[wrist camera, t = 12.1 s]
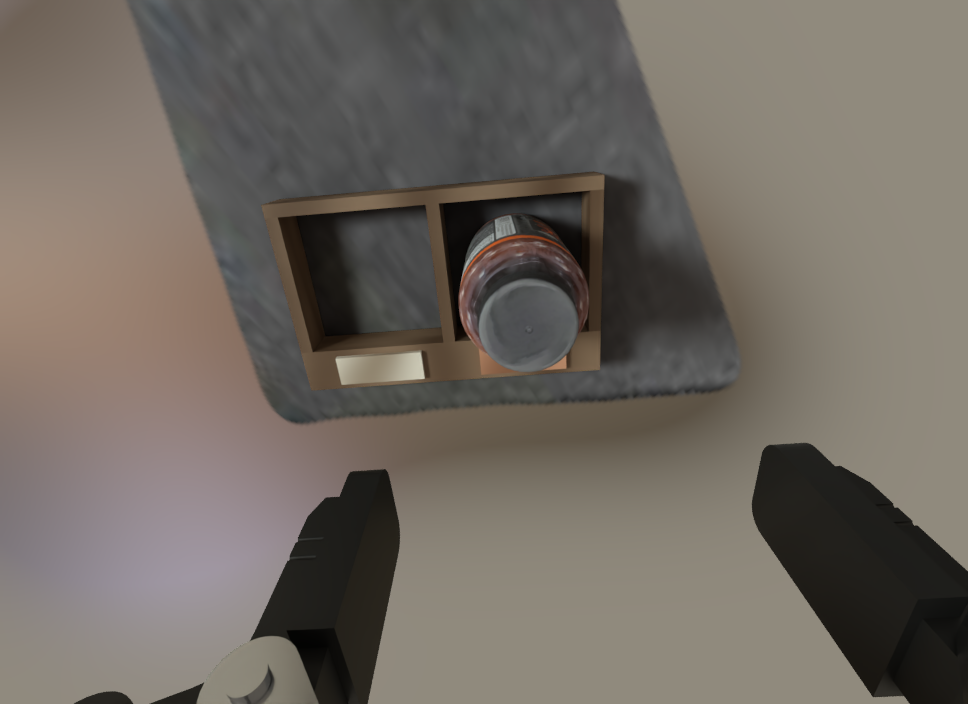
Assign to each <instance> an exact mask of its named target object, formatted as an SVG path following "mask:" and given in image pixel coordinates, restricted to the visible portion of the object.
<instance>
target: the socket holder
mask: <svg viewBox="0 0 968 704" xmlns="http://www.w3.org/2000/svg"><path fill="white" fill-rule="evenodd" d="M578 191H582V227H581V269H582V271H583V273H584V276H585V279H586V282H587V285H588V291H589V310H588V315H587V319H586V321H585V324H584V326H583V328H582V330H581V332H580V333H579V335H578V336H577V338H576V340H575V343H574V345H573V346H572V348H571V350H570V351H569V353H568V354H567V355H566V356H565V357H564V358H563V359H562V360H561V361H559V362H558V363H556V364H554V365H553V366H551V367H549V368H546V369H544V370H541V371H536V372H519V371H513V370H511V369H507V368H505V367H503V366H501V365H500V364H498V363H497V362H496V361H494V360H493V359H492V358H491V357H490V356H488V355H487V354H485V353H484V352H482V351H481V350H480V349H479V348H478V347H477V346H476V345H475V344H474V343H473V342H472V341H471V339H470V338H469V336H468V335H467V333H466V332H465V329H464V327H463V326H457V319H456V310H455V301H454V293H453V284H452V275H451V267H450V258H449V249H448V240H447V232H446V223H445V214H444V206H443V203H451V202H462V201H474V200H486V199H497V198H509V197H520V196H532V195H544V194H555V193H567V192H578ZM416 205H426V212H427V219H428V227H429V235H430V243H431V250H432V258H433V266H434V273H435V281H436V289H437V296H438V304H439V312H440V319H441V327H442V328H429V329H416V330H403V331H390V332H377V333H364V334H350V335H337V336H325V332H324V328H323V324H322V320H321V316H320V312H319V308H318V304H317V300H316V295H315V291H314V287H313V283H312V279H311V275H310V271H309V267H308V263H307V259H306V254H305V250H304V246H303V242H302V238H301V234H300V230H299V226H298V222H297V218H296V216H300V215H312V214H323V213H335V212H347V211H358V210H370V209H381V208H393V207H405V206H416ZM261 206H262V210H263V214H264V218H265V221H266V225H267V229H268V232H269V236H270V240H271V243H272V247H273V251H274V254H275V258H276V262H277V265H278V269H279V273H280V276H281V280H282V284H283V287H284V291H285V295H286V298H287V302H288V306H289V309H290V313H291V317H292V320H293V324H294V328H295V332H296V335H297V339H298V343H299V346H300V350H301V354H302V357H303V361H304V365H305V368H306V372H307V376H308V379H309V383H310V387H311V390H325V389H339V388H353V387H367V386H381V385H394V384H408V383H422V382H436V381H450V380H464V379H478V378H492V377H505V376H519V375H533V374H547V373H561V372H575V371H589V370H600V342H601V300H602V257H603V214H604V175H603V174H600V173H597V172H585V173H573V174H562V175H551V176H539V177H528V178H516V179H505V180H494V181H482V182H471V183H460V184H448V185H437V186H425V187H414V188H403V189H391V190H380V191H368V192H357V193H346V194H334V195H323V196H311V197H300V198H289V199H279V200H276V201H273V202H269V203H266V204H263V205H261Z"/></svg>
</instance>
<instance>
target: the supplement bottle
mask: <svg viewBox="0 0 968 704" xmlns="http://www.w3.org/2000/svg"><path fill="white" fill-rule="evenodd" d="M588 310H589V291H588V285H587V282H586V279H585V276H584V273H583V271H582V269H581V268H580V266H579V264H578V263H577V261H576V260H575V258H574V257H573V255H572V254H571V253H570V252H569V250H568V249H567V248H566V246H565V245H564V244H563V242H562V241H561V240H560V238H559V236H558V235H557V234H556V233H555V231H554V230H553V229H552V228H551V227H550V226H548V225H547V224H546V223H544V222H543V221H541V220H539V219H537V218H535V217H533V216H530V215H526V214H521V213H513V214H506V215H502V216H499V217H497V218H494V219H492V220H490V221H489V222H487V223H486V224H485V225H483V226H482V227H481V228H480V229H479V230H478V232H477V233H476V234H475V235H474V237H473V239H472V241H471V243H470V245H469V247H468V250H467V254H466V258H465V264H464V268H463V274H462V279H461V284H460V290H459V313H460V318H461V322H462V325H463V327H464V329H465V332H466V333H467V335H468V336H469V338H470V339H471V341H472V342H473V343H474V344H475V345H476V346H477V347H478V348H479V349H480V350H481V351H482V352H484V353H485V354H487V355H488V356H490V357H491V358H492V359H493V360H494V361H496V362H497V363H498V364H500V365H501V366H503V367H505V368H507V369H511V370H513V371H519V372H536V371H541V370H544V369H546V368H549V367H551V366H553V365H554V364H556V363H558V362H559V361H561V360H562V359H563V358H564V357H565V356H566V355H567V354H568V353H569V351H570V350H571V348H572V346H573V345H574V343H575V340H576V338H577V336H578V335H579V333H580V332H581V330H582V328H583V326H584V324H585V321H586V319H587V315H588Z"/></svg>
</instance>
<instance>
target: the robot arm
mask: <svg viewBox="0 0 968 704" xmlns="http://www.w3.org/2000/svg"><path fill="white" fill-rule="evenodd" d="M752 512H753V517H754V520H755V523H756V525H757V527H758V530H759V532H760V533H761V535H762V536H763V538H764V539H765V541H766V542H767V543H768V545H769V546H770V548H771V549H772V551H773V552H774V554H775V555H776V557H777V558H778V559H779V561H780V562H781V564H782V565H783V567H784V568H785V570H786V571H787V572H788V574H789V575H790V577H791V578H792V580H793V581H794V583H795V584H796V586H797V587H798V588H799V590H800V592H801V593H802V594H803V596H804V597H805V599H806V600H807V602H808V603H809V605H810V606H811V608H812V609H813V610H814V611H815V613H816V615H817V616H818V618H819V619H820V620H821V622H822V623H823V625H824V626H825V628H826V629H827V631H828V632H829V633H830V635H831V637H832V638H833V639H834V641H835V642H836V644H837V645H838V647H839V648H840V650H841V651H842V653H843V654H844V656H845V657H846V658H847V660H848V661H849V663H850V664H851V666H852V667H853V669H854V670H855V672H856V673H857V675H858V676H859V677H860V679H861V680H862V681H863V683H864V685H865V686H866V688H867V689H868V691H869V692H870V693H871V695H872V696H873V697H888V696H904V697H905V698H906V699H907V701H908V702H909V703H910V704H968V571H967V570H966V569H965V568H963V567H962V566H961V565H960V564H959V563H958V562H957V561H956V560H954V559H953V558H952V557H951V556H950V555H949V554H948V553H947V552H946V551H945V550H944V549H943V548H941V547H940V546H939V545H938V544H937V543H936V542H935V541H934V540H933V539H931V538H930V537H929V536H928V535H927V534H926V533H925V532H924V531H923V530H922V529H921V528H919V527H918V526H914V525H913V523H912V520H911V519H910V518H909V517H907V516H906V515H905V514H904V513H903V512H902V511H901V510H900V509H899V508H894V506H893V503H892V502H891V501H890V500H889V499H888V498H886V497H885V496H884V495H883V494H882V493H881V492H880V491H879V490H878V489H877V488H875V487H874V486H873V485H872V484H871V483H870V482H868V481H866V480H864V479H863V478H861V477H859V476H857V475H856V474H854V473H852V472H850V471H849V470H847V469H845V468H843V467H842V466H834V465H833V464H832V463H831V462H830V461H829V460H828V459H827V458H826V457H824V455H823V454H822V453H821V452H819V451H818V450H817V449H816V448H815V447H814V446H813V445H811V444H808V443H795V444H780V445H768V446H767V447H765V448H764V450H763V452H762V456H761V461H760V466H759V471H758V475H757V480H756V485H755V489H754V494H753V500H752ZM399 544H400V528H399V520H398V516H397V511H396V506H395V502H394V497H393V492H392V488H391V484H390V479H389V475H388V472H387V471H386V470H385V469H384V470H367V471H353V472H350V474H349V475H348V477H347V480H346V482H345V485H344V487H343V489H342V492H341V494H340V497H330V498H325V499H324V500H323V501H322V502H321V503H320V504H319V505H318V507H317V508H316V509H315V510H314V511H313V512H312V513H311V514H310V515H309V516H308V517H307V519H306V522H305V524H304V526H303V528H302V530H301V533H300V535H299V537H298V542H297V543H295V546H294V548H293V550H292V552H291V554H290V560H289V561H287V563H286V565H285V567H284V569H283V572H282V574H281V576H280V578H279V580H278V583H277V585H276V587H275V589H274V591H273V594H272V595H271V598H270V600H269V602H268V605H267V606H266V609H265V611H264V613H263V615H262V617H261V619H260V622H259V624H258V626H257V628H256V630H255V632H254V634H253V636H252V638H251V640H250V641H249V642H247V643H245V644H243V645H241V646H239V647H238V648H236V649H235V650H233V651H232V652H231V653H230V654H228V655H227V656H226V657H225V658H224V659H223V660H222V661H221V662H220V663H219V664H218V665H217V666H216V667H215V668H214V670H213V671H212V672H211V673H210V675H209V676H208V678H207V679H206V681H205V682H204V683H202V684H200V685H198V686H196V687H193V688H191V689H188V690H186V691H183V692H180V693H177V694H175V695H172V696H169V697H167V698H164V699H161V700H159V701H156V702H153V703H151V704H368V699H369V694H370V689H371V684H372V679H373V674H374V669H375V665H376V660H377V654H378V650H379V645H380V640H381V635H382V631H383V626H384V621H385V616H386V611H387V606H388V601H389V596H390V591H391V586H392V582H393V577H394V571H395V567H396V562H397V558H398V552H399ZM74 704H133V703H132V701H131V700H130V699H129V698H128V697H127V696H126V695H124V694H123V693H120V692H103V693H98V694H95V695H92V696H89V697H86V698H84V699H82V700H80V701H78V702H76V703H74Z"/></svg>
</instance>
